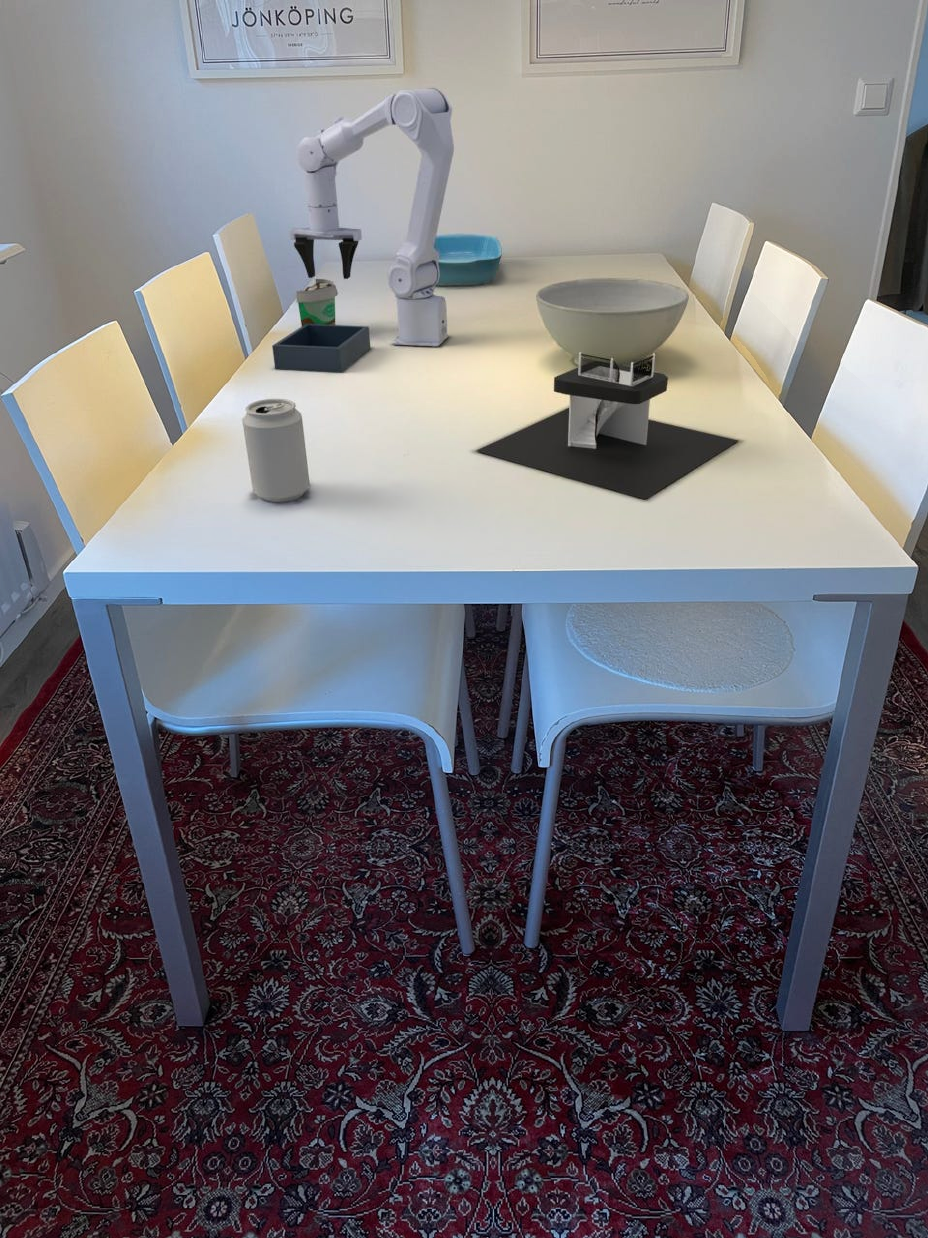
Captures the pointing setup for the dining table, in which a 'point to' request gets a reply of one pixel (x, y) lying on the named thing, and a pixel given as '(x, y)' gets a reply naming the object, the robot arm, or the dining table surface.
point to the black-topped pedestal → (610, 432)
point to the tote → (321, 347)
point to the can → (276, 450)
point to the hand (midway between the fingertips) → (329, 277)
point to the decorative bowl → (611, 316)
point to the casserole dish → (467, 259)
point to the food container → (317, 303)
